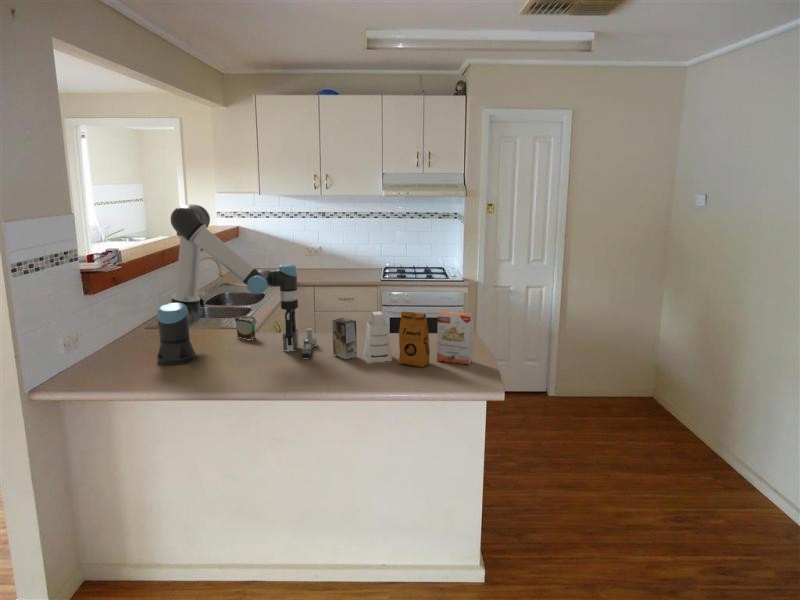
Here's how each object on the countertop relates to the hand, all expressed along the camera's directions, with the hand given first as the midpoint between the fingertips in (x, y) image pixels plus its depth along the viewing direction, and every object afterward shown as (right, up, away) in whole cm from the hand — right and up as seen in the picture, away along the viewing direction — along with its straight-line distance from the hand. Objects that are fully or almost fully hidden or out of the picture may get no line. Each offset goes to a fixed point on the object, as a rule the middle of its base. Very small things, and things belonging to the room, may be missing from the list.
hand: (291, 348), depth 250 cm
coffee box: (+25, -3, -10) cm, 27 cm away
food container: (-24, +4, +19) cm, 31 cm away
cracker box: (+72, -4, -17) cm, 74 cm away
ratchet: (+8, -1, -3) cm, 8 cm away
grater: (+39, -3, -13) cm, 41 cm away
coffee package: (+55, -5, -20) cm, 58 cm away
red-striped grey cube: (0, 0, 0) cm, 0 cm away
